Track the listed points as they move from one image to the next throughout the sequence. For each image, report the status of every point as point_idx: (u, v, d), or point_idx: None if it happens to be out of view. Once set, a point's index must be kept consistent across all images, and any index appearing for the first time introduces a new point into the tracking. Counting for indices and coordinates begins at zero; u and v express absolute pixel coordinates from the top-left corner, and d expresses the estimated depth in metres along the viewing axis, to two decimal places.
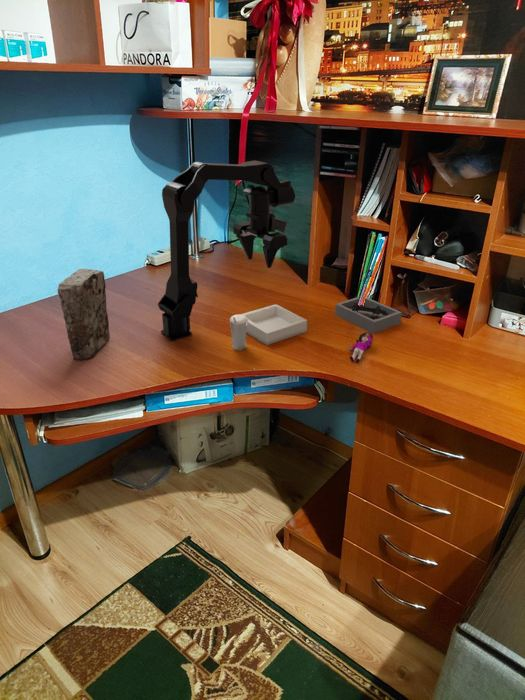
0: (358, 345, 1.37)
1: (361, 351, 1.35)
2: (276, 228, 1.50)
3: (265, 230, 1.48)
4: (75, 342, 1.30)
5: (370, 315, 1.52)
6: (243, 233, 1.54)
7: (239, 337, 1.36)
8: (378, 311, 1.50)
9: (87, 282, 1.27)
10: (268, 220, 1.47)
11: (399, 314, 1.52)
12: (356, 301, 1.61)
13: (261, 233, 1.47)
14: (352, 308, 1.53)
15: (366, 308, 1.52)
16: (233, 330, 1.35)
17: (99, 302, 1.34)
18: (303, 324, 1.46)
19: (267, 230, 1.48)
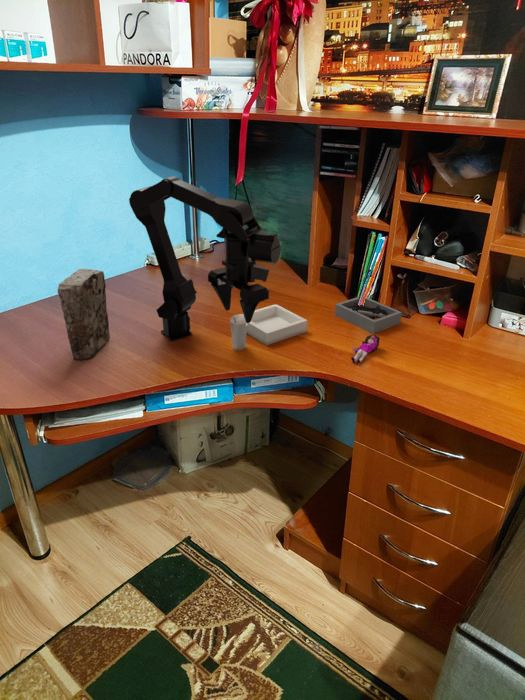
0: (363, 347, 1.36)
1: (364, 353, 1.35)
2: (256, 277, 1.31)
3: (243, 281, 1.28)
4: (75, 342, 1.30)
5: (370, 315, 1.52)
6: (219, 282, 1.34)
7: (239, 337, 1.36)
8: (378, 311, 1.50)
9: (87, 283, 1.27)
10: (247, 269, 1.27)
11: (399, 314, 1.52)
12: (356, 301, 1.61)
13: (238, 284, 1.28)
14: (352, 308, 1.53)
15: (366, 308, 1.52)
16: (233, 330, 1.35)
17: (99, 302, 1.34)
18: (303, 324, 1.46)
19: (245, 281, 1.28)
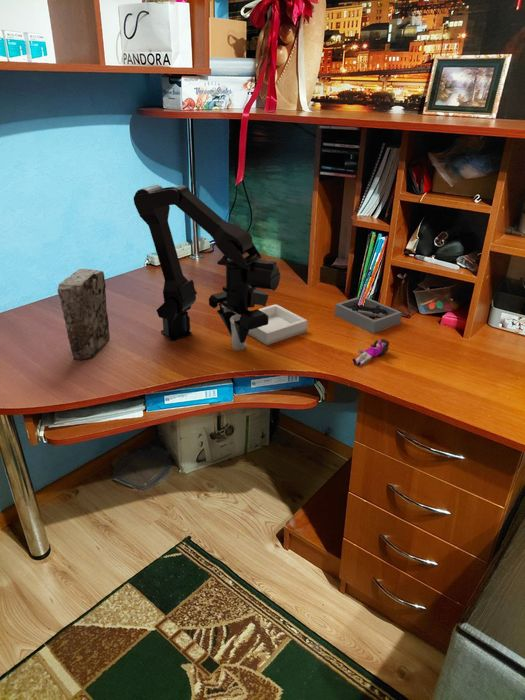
0: (369, 350, 1.35)
1: (368, 356, 1.33)
2: (256, 302, 1.34)
3: (243, 306, 1.31)
4: (75, 342, 1.30)
5: (370, 315, 1.52)
6: (225, 309, 1.35)
7: None
8: (378, 311, 1.50)
9: (87, 282, 1.27)
10: (247, 295, 1.31)
11: (399, 314, 1.52)
12: (356, 301, 1.61)
13: (239, 310, 1.31)
14: (352, 308, 1.53)
15: (366, 308, 1.52)
16: (233, 330, 1.35)
17: (99, 302, 1.34)
18: (303, 324, 1.46)
19: (245, 306, 1.32)
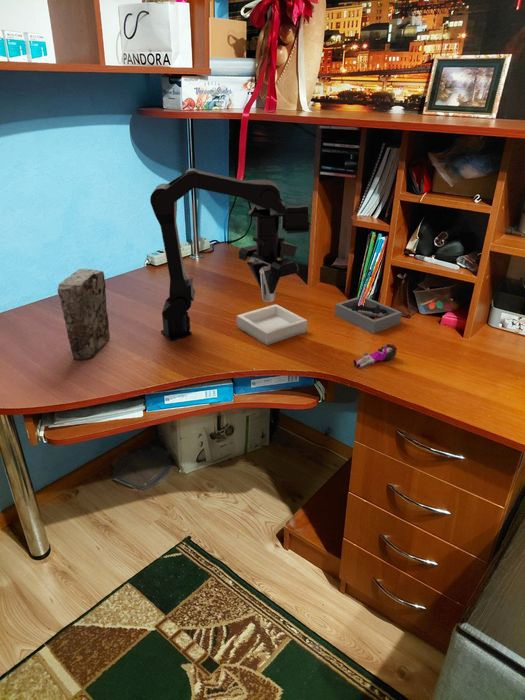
0: (374, 353, 1.33)
1: (371, 359, 1.32)
2: (285, 253, 1.37)
3: (273, 256, 1.34)
4: (75, 342, 1.30)
5: (370, 314, 1.52)
6: (255, 261, 1.39)
7: None
8: (378, 310, 1.50)
9: (87, 283, 1.27)
10: (276, 245, 1.34)
11: (399, 314, 1.52)
12: (356, 301, 1.61)
13: (269, 259, 1.34)
14: (352, 308, 1.53)
15: (366, 308, 1.52)
16: (263, 281, 1.39)
17: (99, 302, 1.34)
18: (303, 324, 1.46)
19: (275, 256, 1.35)
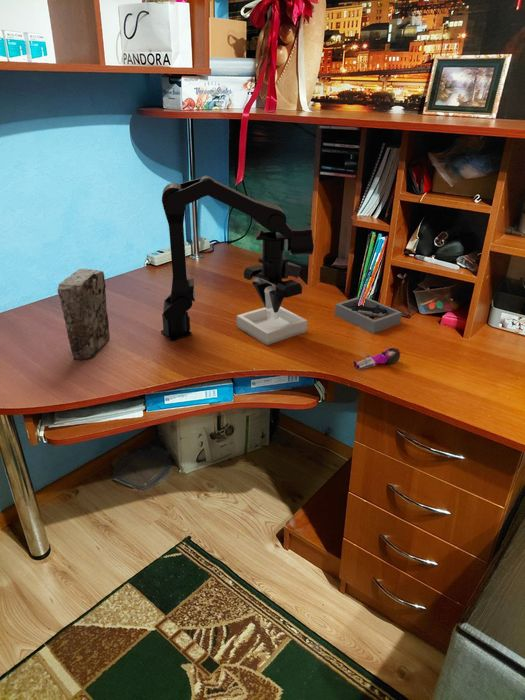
0: (376, 356, 1.32)
1: (372, 361, 1.31)
2: (289, 274, 1.42)
3: (278, 277, 1.40)
4: (75, 342, 1.30)
5: (370, 314, 1.52)
6: (260, 281, 1.44)
7: None
8: (378, 310, 1.50)
9: (87, 282, 1.27)
10: (281, 267, 1.39)
11: (399, 314, 1.52)
12: (356, 301, 1.61)
13: (274, 280, 1.40)
14: (352, 308, 1.53)
15: (366, 308, 1.52)
16: (267, 300, 1.44)
17: (99, 302, 1.34)
18: (303, 324, 1.46)
19: (280, 277, 1.40)
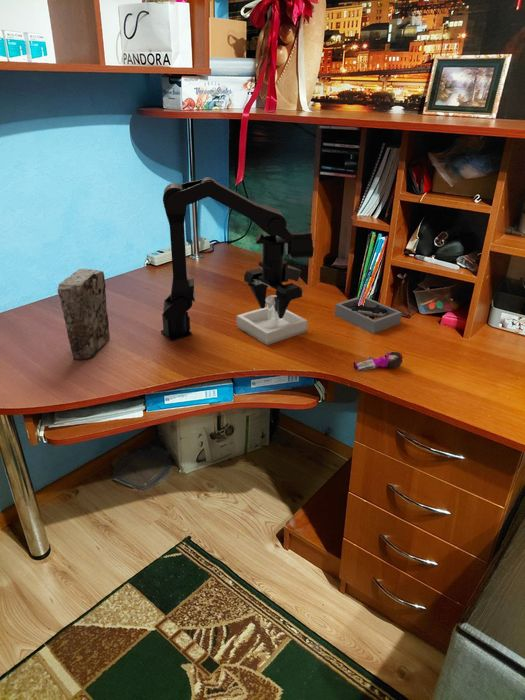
0: (378, 359, 1.31)
1: (372, 364, 1.30)
2: (289, 277, 1.43)
3: (278, 280, 1.40)
4: (75, 342, 1.30)
5: (370, 314, 1.51)
6: (255, 282, 1.46)
7: (274, 316, 1.46)
8: (378, 310, 1.50)
9: (87, 282, 1.27)
10: (281, 270, 1.40)
11: (399, 314, 1.52)
12: (356, 301, 1.61)
13: (274, 284, 1.40)
14: (352, 308, 1.53)
15: (365, 307, 1.52)
16: (268, 310, 1.45)
17: (99, 302, 1.34)
18: (303, 324, 1.46)
19: (280, 280, 1.41)
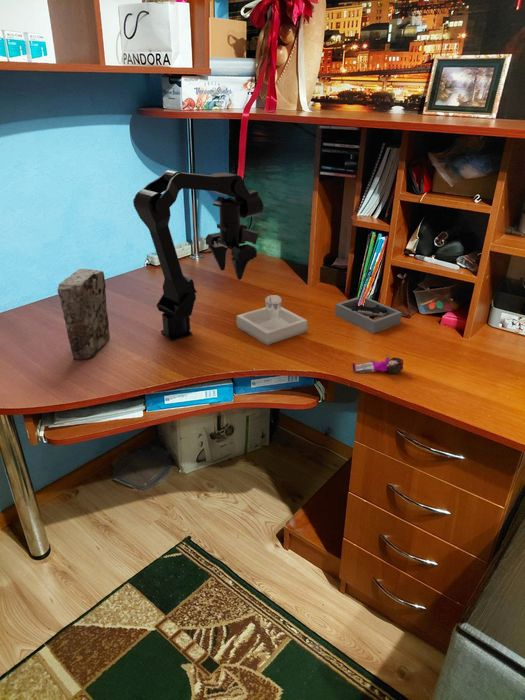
0: (378, 363, 1.29)
1: (371, 367, 1.28)
2: (247, 240, 1.49)
3: (235, 242, 1.47)
4: (75, 342, 1.30)
5: (370, 314, 1.51)
6: (215, 244, 1.53)
7: (274, 316, 1.46)
8: (377, 310, 1.50)
9: (87, 282, 1.27)
10: (238, 232, 1.46)
11: (399, 314, 1.52)
12: (356, 301, 1.61)
13: (231, 245, 1.47)
14: (351, 308, 1.53)
15: (365, 307, 1.52)
16: (268, 310, 1.45)
17: (99, 302, 1.34)
18: (303, 324, 1.46)
19: (237, 242, 1.47)
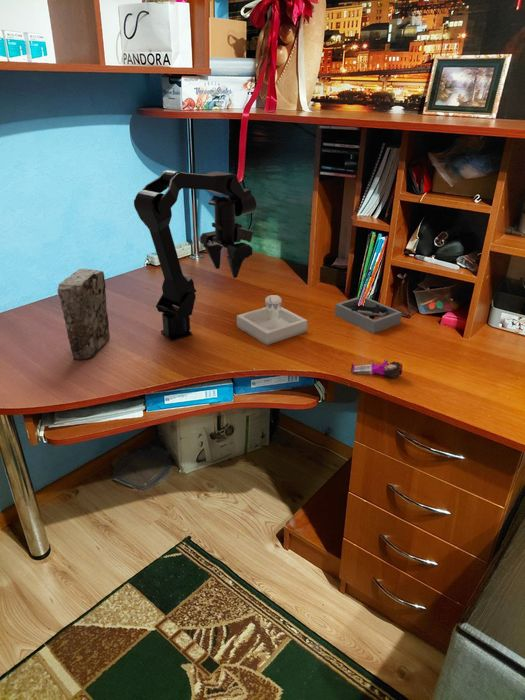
0: (377, 366, 1.28)
1: (369, 369, 1.27)
2: (242, 238, 1.51)
3: (230, 240, 1.48)
4: (75, 342, 1.30)
5: (370, 314, 1.51)
6: (210, 243, 1.54)
7: (274, 316, 1.46)
8: (377, 310, 1.50)
9: (87, 283, 1.27)
10: (233, 230, 1.47)
11: (399, 314, 1.52)
12: (356, 301, 1.61)
13: (226, 243, 1.48)
14: (351, 308, 1.53)
15: (365, 307, 1.52)
16: (268, 310, 1.45)
17: (99, 302, 1.34)
18: (303, 324, 1.46)
19: (232, 240, 1.48)
